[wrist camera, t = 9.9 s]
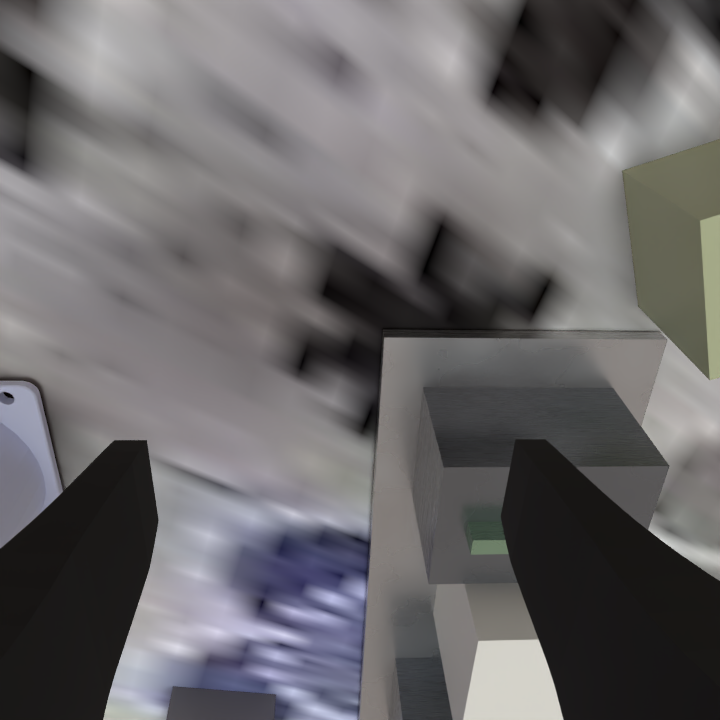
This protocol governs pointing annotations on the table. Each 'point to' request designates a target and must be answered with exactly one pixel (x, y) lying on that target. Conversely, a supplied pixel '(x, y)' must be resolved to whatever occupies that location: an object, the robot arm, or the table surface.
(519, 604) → the block
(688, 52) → the table surface
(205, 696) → the charcoal block
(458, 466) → the rail station
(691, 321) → the olive block
